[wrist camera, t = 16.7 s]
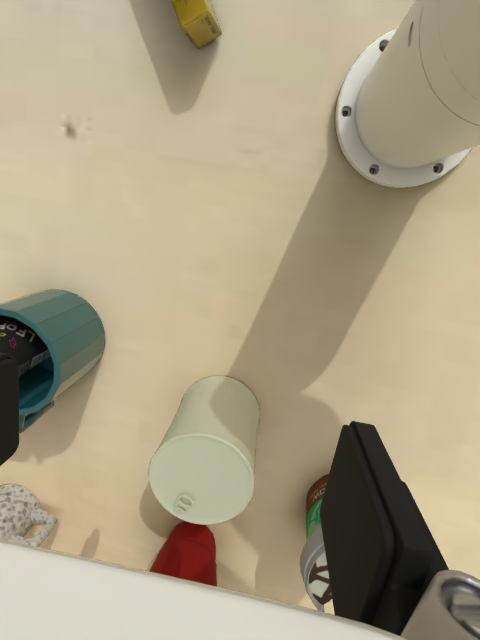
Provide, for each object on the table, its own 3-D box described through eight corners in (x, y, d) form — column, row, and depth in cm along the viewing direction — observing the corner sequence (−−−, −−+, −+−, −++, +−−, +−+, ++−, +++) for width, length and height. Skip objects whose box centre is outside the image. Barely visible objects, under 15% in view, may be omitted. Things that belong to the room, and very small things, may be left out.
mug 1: (18, 281, 40) (-53, 298, 31) (108, 298, 39) (61, 320, 31) (18, 390, 43) (-45, 432, 35) (101, 406, 43) (57, 453, 34)
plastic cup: (196, 585, 49) (172, 697, 37) (137, 535, 48) (93, 635, 36) (253, 544, 46) (246, 651, 35) (192, 490, 45) (164, 583, 33)
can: (166, 421, 43) (127, 495, 31) (205, 360, 40) (178, 416, 29) (233, 460, 43) (218, 547, 32) (275, 403, 41) (276, 474, 29)
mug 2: (-5, 522, 49) (-46, 567, 43) (-11, 481, 47) (-55, 521, 41) (66, 531, 49) (34, 578, 42) (63, 490, 47) (29, 532, 40)
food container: (349, 441, 41) (372, 509, 32) (387, 475, 42) (420, 551, 32) (274, 503, 44) (274, 581, 35) (310, 533, 45) (319, 618, 35)
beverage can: (14, 307, 40) (-91, 342, 28) (63, 303, 39) (-25, 337, 28) (27, 355, 41) (-68, 407, 30) (74, 352, 41) (-5, 405, 29)
